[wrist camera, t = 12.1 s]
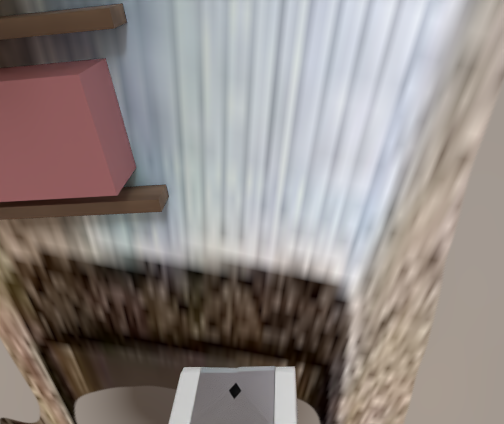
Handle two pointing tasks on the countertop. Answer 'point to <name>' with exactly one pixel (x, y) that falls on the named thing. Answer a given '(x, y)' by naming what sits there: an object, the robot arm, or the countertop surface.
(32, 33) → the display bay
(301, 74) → the countertop surface
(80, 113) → the carton
